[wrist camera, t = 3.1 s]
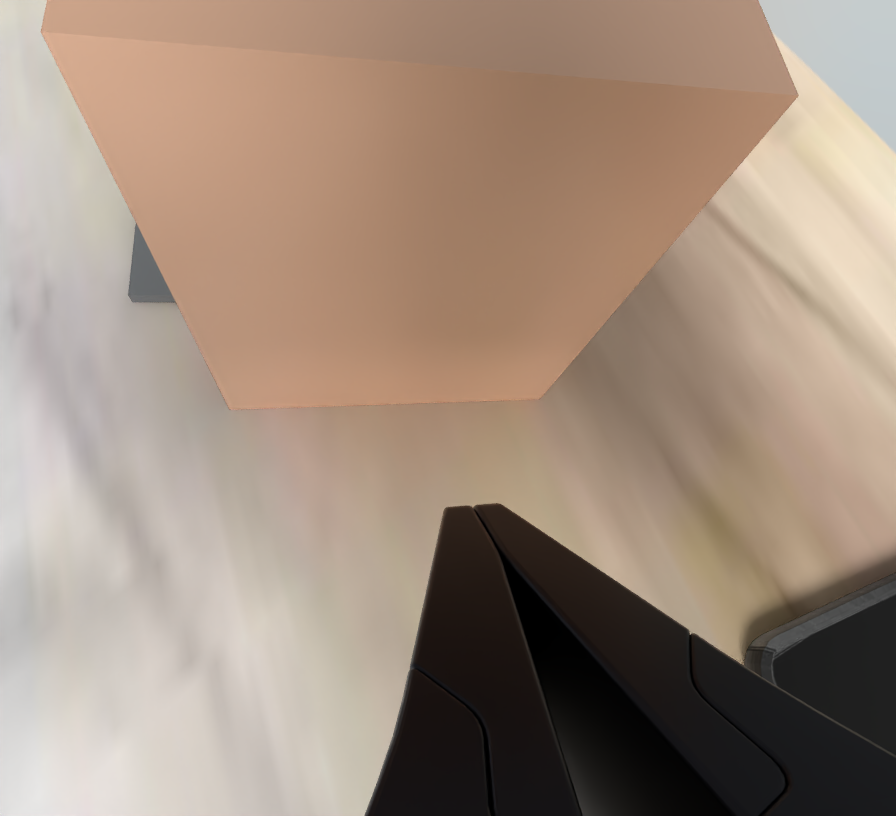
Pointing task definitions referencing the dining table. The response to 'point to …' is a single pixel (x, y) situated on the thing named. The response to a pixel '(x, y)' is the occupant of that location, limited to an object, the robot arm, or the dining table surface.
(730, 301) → the dining table surface
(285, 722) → the dining table surface
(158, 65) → the glazed tile
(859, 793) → the robot arm
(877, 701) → the phone
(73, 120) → the dining table surface
